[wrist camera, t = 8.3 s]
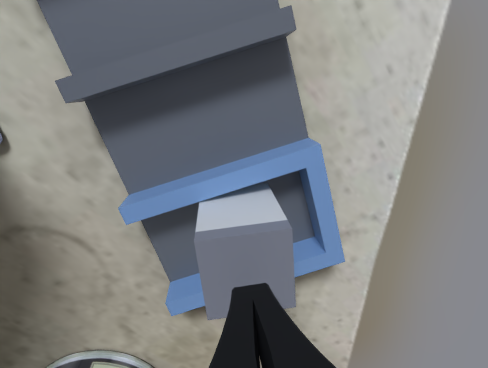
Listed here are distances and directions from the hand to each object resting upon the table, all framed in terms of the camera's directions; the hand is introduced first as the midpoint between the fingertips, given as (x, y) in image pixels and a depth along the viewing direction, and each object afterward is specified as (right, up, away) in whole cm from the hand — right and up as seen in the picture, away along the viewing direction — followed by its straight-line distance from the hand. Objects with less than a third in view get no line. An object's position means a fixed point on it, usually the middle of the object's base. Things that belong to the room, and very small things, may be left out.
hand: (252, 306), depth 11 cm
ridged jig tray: (-3, +8, +5) cm, 10 cm away
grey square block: (-1, +3, +7) cm, 7 cm away
